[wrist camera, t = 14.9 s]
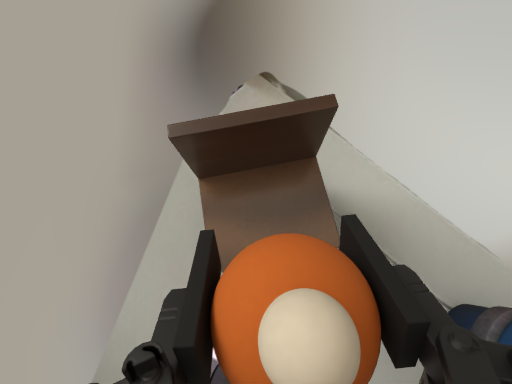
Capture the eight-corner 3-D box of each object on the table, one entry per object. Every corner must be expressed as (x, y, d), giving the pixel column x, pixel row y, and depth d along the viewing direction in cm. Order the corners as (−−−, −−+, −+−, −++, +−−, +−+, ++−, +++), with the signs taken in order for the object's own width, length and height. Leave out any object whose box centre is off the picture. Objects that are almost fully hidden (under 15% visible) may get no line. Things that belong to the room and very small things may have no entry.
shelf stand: (215, 196, 38) (166, 124, 19) (300, 180, 39) (334, 93, 20) (227, 271, 35) (182, 275, 16) (319, 253, 36) (382, 234, 16)
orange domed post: (222, 255, 18) (151, 233, 7) (321, 236, 18) (411, 183, 7) (239, 371, 16) (177, 612, 5) (350, 348, 16) (546, 528, 5)
